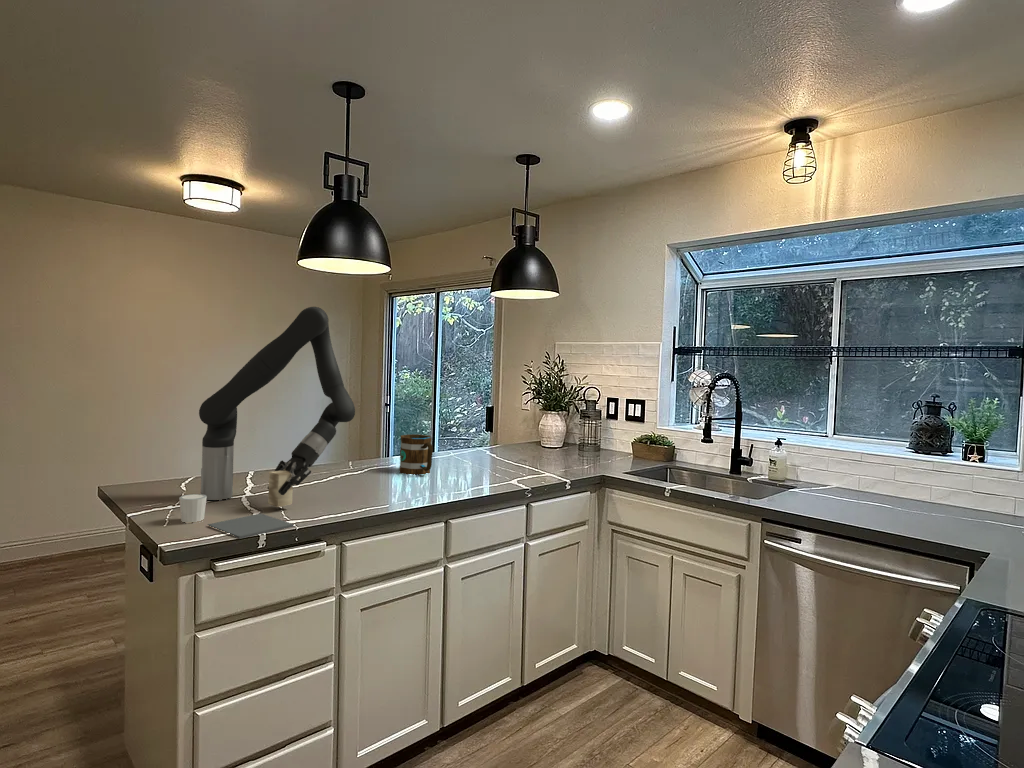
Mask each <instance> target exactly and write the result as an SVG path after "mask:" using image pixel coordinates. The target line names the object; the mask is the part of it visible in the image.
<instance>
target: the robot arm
mask: <svg viewBox="0 0 1024 768" xmlns="http://www.w3.org/2000/svg"><path fill="white" fill-rule="evenodd" d="M309 342H310V344H311V347H312V351H313V353H314V358H315V366H316V371H317V375H318V379H319V383H320V386H321V388H322V392H323V394H324V396H325V397H328V398H329V399H330V400H331V402H330V403H329V404H328V405H326V407H325V408H324V409H323V411H322V413H321V415H320V418H319V419H318V422H317V423H316V424H315V425H314V426H313V427H312V429H311V430H310V431H309V432H308V433H307V434H306V435H305V436H304V437H303V438H302V440H300V442H299V443H298V444H297V446H296V447H295V448H294V449H293V450H292V452H291V458H290V459H288V460H287V461H284V460H280V462H279V463H278V465H277V466H276V468H275V469H274V471H280V470H281V471H285V470H286V471H289V473H290V476H289V478H288V479H287V482H285V483H284V484H283V485H282V487H281V488H280V489H279V490H278V492H279V493H280V494H281V495H284V494H285V493H286V492H287V491H288V490H289V488H290V487H291V486H293V487H294V486H299V485H300V484H301V483H302V482H303V481H304V480H305V479H306V478H307V477H309V476H310V474H311V473H312V470H311V467H312V466H313V465H314V464H315V462H316V461H317V460H318V459H319V457H320V456H321V455H322V454H323V453H324V451H325V450H326V448H327V446H328V445H329V443H330V442H331V441H332V440H333V439H334V437H335V436H336V434H337V428H336V427H337V425H338V424H339V423H349V422H351V421H353V419H354V418H355V415H356V407H355V404H354V402H353V400H352V398H351V396H350V394H349V393H348V391H347V389H346V388H345V386H344V385H345V384H344V380H343V377H342V374H341V371H340V368H339V365H338V361H337V359H336V356H335V352H334V350H333V345H332V341H331V336H330V324H329V317H328V314H327V312H326V311H325V310H324V309H323V308H320V307H318V306H309V307H306V308H304V309H302V310H301V311H300V312H299V313H298V315H296V317H295V319H294V320H293V321H292V322H291V323H290V324H289V325H288V326H287V328H286V329H285V330H284V331H283V332H282V333H281V334H280V335H278V336H277V337H276V338H274V339H273V340H272V341H270V342H269V343H268V344H266V345H265V346H264V347H262V349H260V350H259V351H258V352H257V353H256V354H255V355H253V356H252V357H251V358H250V360H248V362H246V363H245V365H244V366H242V367H241V368H240V369H239V370H238V371H237V372H236V373H235V375H234V376H233V377H232V378H231V379H230V380H229V381H228V382H227V383H226V384H225V385H224V386H222V387H221V388H220V389H218V391H216V392H215V393H213V394H212V395H211V396H209V397H208V398H207V399H205V400H204V401H203V402H202V403H201V405H200V407H199V410H198V411H199V412H198V415H199V419H200V421H201V422H202V423H203V424H205V425H207V426H206V432H205V434H204V436H203V437H202V449H201V450H202V451H201V453H202V454H201V468H200V494H203V495H206V496H207V498H206V501H207V500H219V501H223V500H222V499H226V500H228V499H227V498H230V499H231V497H232V496H233V487H234V451H235V450H234V449H235V445H234V444H235V438H236V436H237V426H238V425H237V424H238V406H239V405H240V404H241V403H242V402H243V401H245V400H246V399H247V398H249V397H250V396H252V395H253V394H254V393H257V392H258V391H259V390H260V389H263V387H265V386H266V385H268V384H269V383H270V382H271V381H273V379H275V378H276V377H277V376H278V375H279V374H280V373H281V372H282V371H283V370H284V369H285V368H286V367H287V365H289V363H290V362H291V361H292V359H293V358H294V357H295V356H296V354H297V353H298V352H299V351H300V350H301V349H302V348H303V347H305V346H306V345H307V344H308V343H309ZM292 477H293V478H292ZM267 489H268V490H269V485H267ZM232 498H233V497H232Z"/></svg>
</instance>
